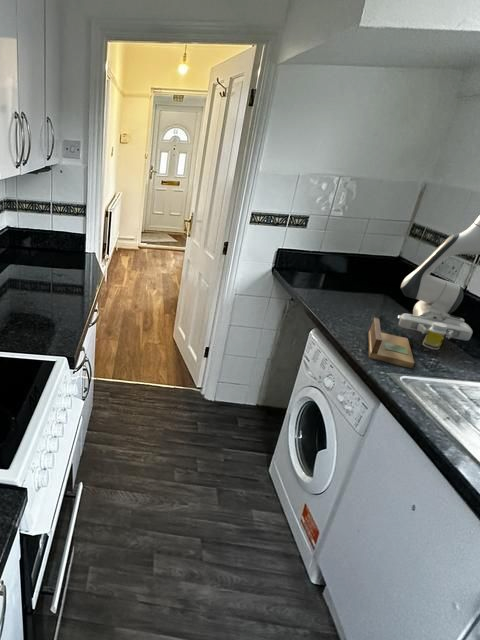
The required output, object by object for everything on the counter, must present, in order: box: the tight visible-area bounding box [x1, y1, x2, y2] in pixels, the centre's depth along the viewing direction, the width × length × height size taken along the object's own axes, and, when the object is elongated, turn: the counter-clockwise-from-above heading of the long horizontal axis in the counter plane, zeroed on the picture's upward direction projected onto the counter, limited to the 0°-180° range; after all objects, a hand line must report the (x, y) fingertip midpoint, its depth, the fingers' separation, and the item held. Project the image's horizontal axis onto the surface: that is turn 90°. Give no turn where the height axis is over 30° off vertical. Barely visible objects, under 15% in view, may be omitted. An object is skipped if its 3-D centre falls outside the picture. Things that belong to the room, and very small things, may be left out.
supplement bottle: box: [422, 322, 448, 350], centre depth 140 cm, size 5×5×8 cm
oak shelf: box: [367, 317, 415, 369], centre depth 142 cm, size 12×22×7 cm, turn 150°
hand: (436, 334), depth 139 cm, fingers closed on supplement bottle, 5 cm apart
